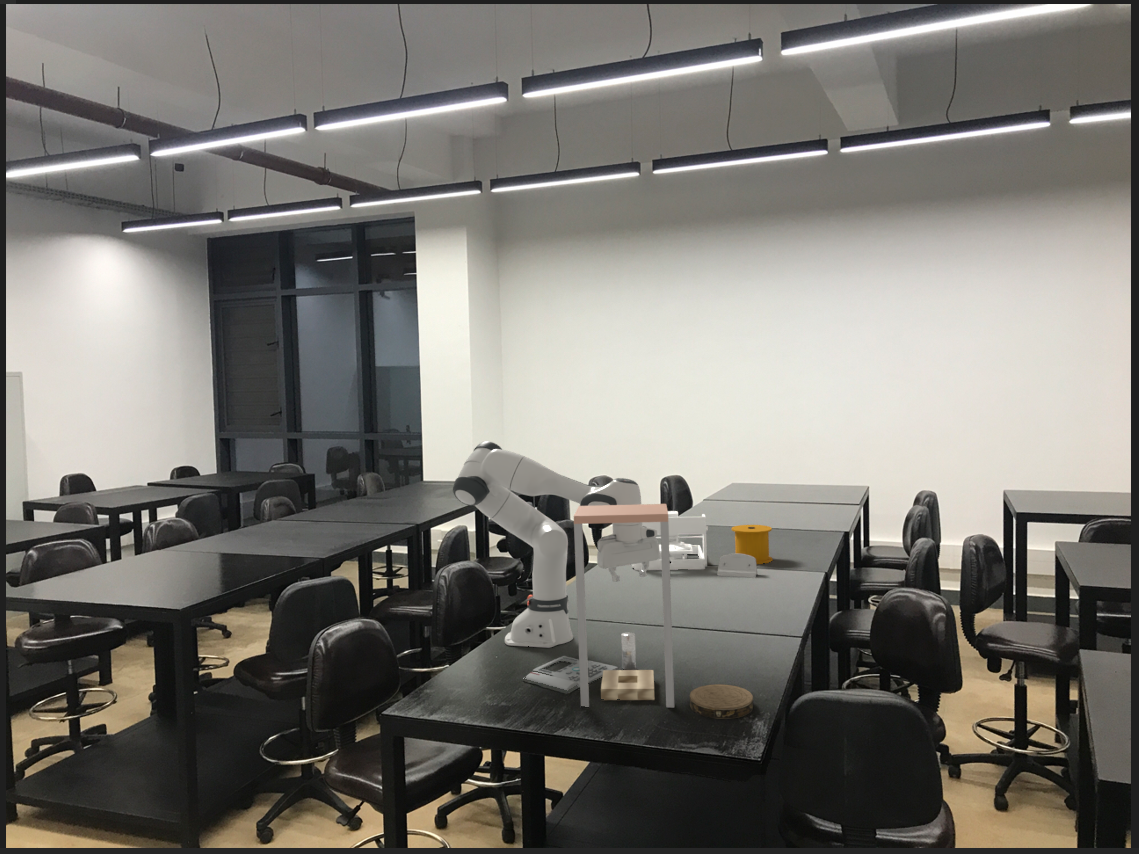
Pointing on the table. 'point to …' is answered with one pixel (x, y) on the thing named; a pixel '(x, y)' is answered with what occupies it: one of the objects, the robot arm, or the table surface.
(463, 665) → the table surface
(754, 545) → the spool
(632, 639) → the peg
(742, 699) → the wood slice
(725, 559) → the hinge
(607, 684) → the socket block
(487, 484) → the robot arm
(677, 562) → the 3d printer
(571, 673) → the office telephone
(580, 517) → the pink-topped arch frame
